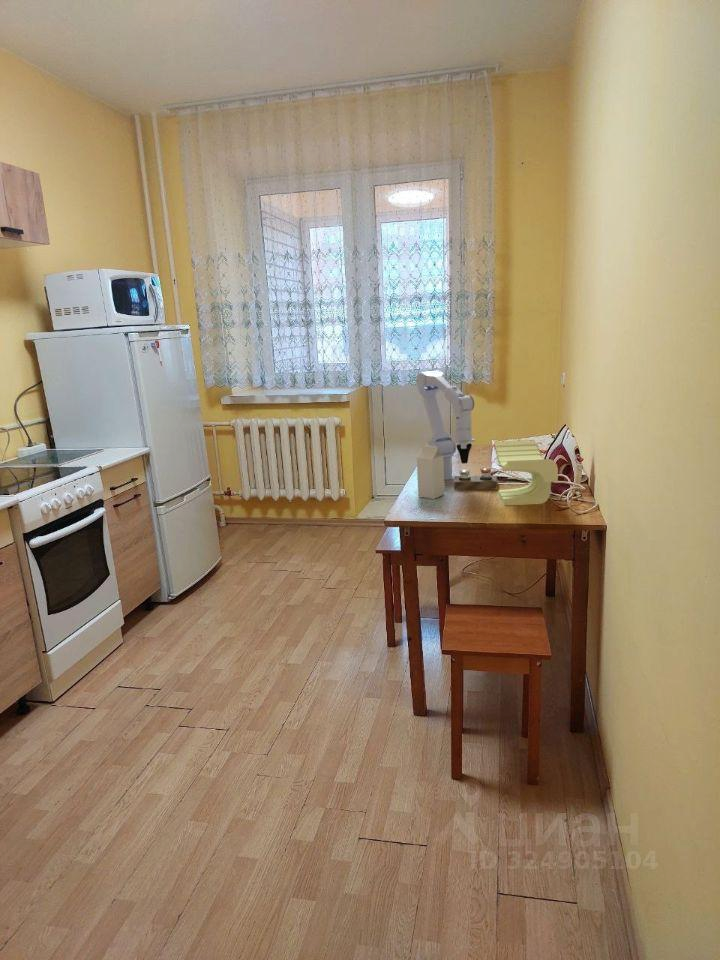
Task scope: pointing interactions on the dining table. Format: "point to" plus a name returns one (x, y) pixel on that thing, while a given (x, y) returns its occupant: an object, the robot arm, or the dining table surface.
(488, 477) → the copper push button
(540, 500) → the slatted curved stool
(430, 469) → the milk carton
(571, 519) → the dining table surface
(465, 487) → the console
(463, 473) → the grey plunger
